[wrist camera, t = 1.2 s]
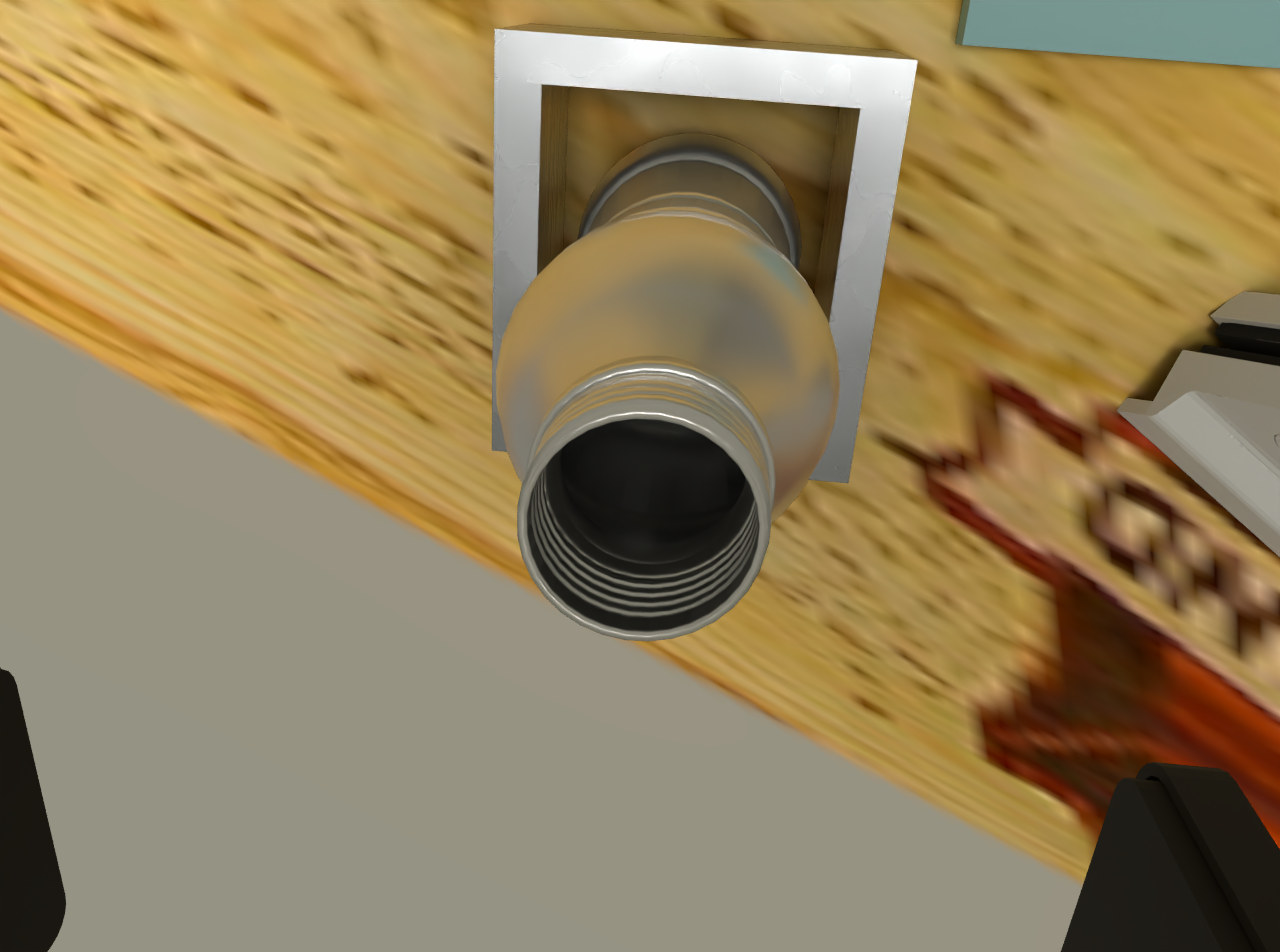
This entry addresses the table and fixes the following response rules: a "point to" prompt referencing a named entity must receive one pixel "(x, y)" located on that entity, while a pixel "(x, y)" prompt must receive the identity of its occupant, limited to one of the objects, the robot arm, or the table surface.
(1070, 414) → the table surface
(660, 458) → the plastic bottle
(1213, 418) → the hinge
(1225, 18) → the board
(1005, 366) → the table surface
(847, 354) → the square socket
